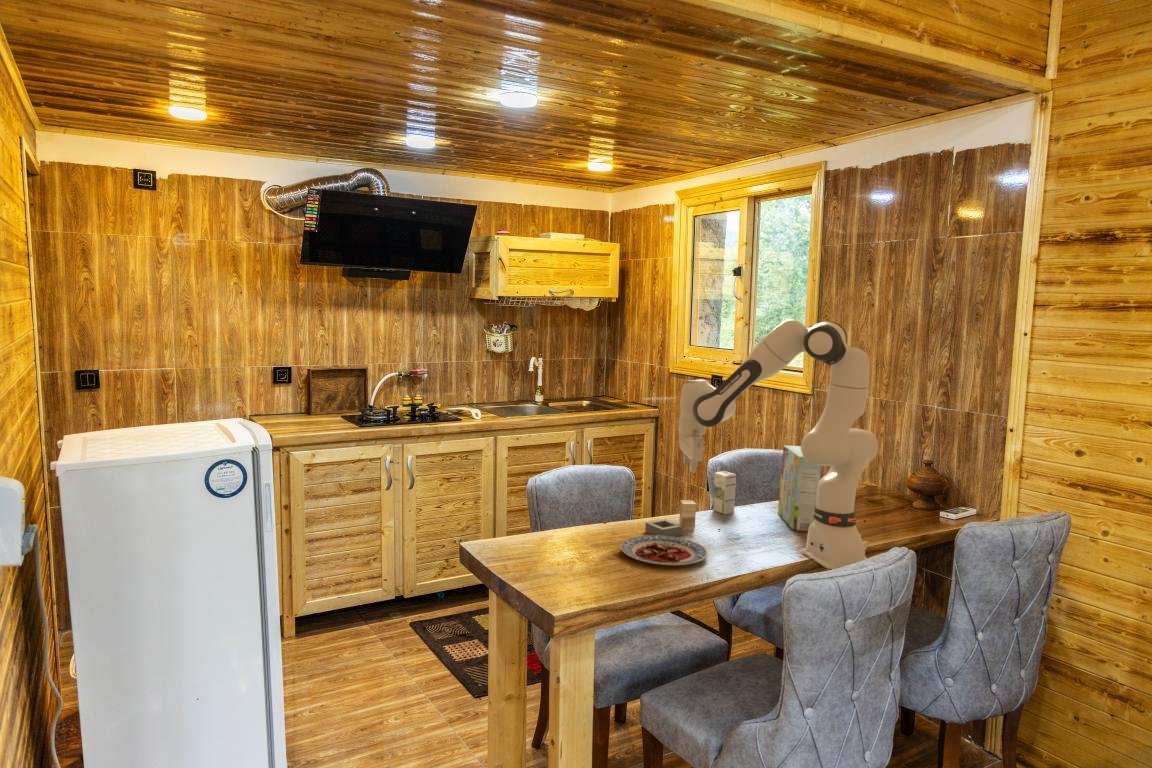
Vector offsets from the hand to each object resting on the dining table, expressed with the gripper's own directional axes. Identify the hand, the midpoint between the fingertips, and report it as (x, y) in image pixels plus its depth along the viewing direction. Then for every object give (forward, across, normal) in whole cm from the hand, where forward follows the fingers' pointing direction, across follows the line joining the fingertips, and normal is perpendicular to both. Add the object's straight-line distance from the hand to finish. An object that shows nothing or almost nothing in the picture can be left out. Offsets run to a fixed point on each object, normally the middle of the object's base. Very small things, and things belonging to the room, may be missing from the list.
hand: (689, 468), depth 248 cm
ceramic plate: (+21, -27, +13) cm, 37 cm away
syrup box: (+21, +20, -18) cm, 34 cm away
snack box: (+21, +8, -41) cm, 47 cm away
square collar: (+20, -6, +9) cm, 23 cm away
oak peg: (+20, 0, 0) cm, 21 cm away
